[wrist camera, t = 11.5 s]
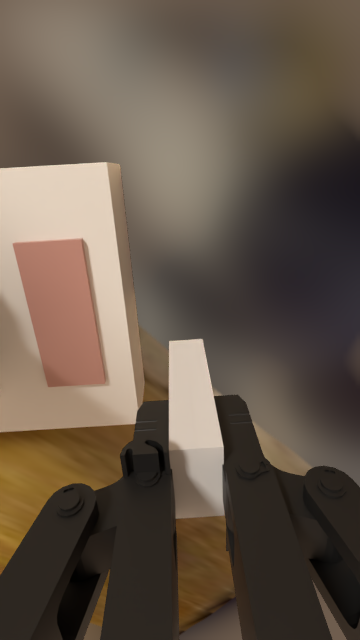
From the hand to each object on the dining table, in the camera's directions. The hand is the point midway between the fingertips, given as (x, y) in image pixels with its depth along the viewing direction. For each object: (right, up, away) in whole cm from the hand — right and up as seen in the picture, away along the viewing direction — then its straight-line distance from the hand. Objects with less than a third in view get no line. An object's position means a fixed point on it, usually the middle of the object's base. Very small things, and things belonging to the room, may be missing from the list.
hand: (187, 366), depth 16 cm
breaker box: (-16, +4, +12) cm, 20 cm away
